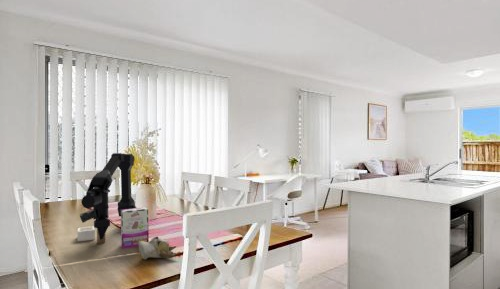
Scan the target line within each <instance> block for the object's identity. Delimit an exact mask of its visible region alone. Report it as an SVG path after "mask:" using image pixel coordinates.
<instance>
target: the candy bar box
mask: <svg viewBox="0 0 500 289" xmlns="http://www.w3.org/2000/svg"><path fill="white" fill-rule="evenodd" d="M120 228H121V229H120V239H121V240H120V243H121V249H128V248H133V247H135V248H136V247H139V244H138V242H139V241H144V242H150V241H149V234H150V233H149V208H148V207H147V206H145V207H136V208H134V209H124V210H121V216H120Z"/></svg>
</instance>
